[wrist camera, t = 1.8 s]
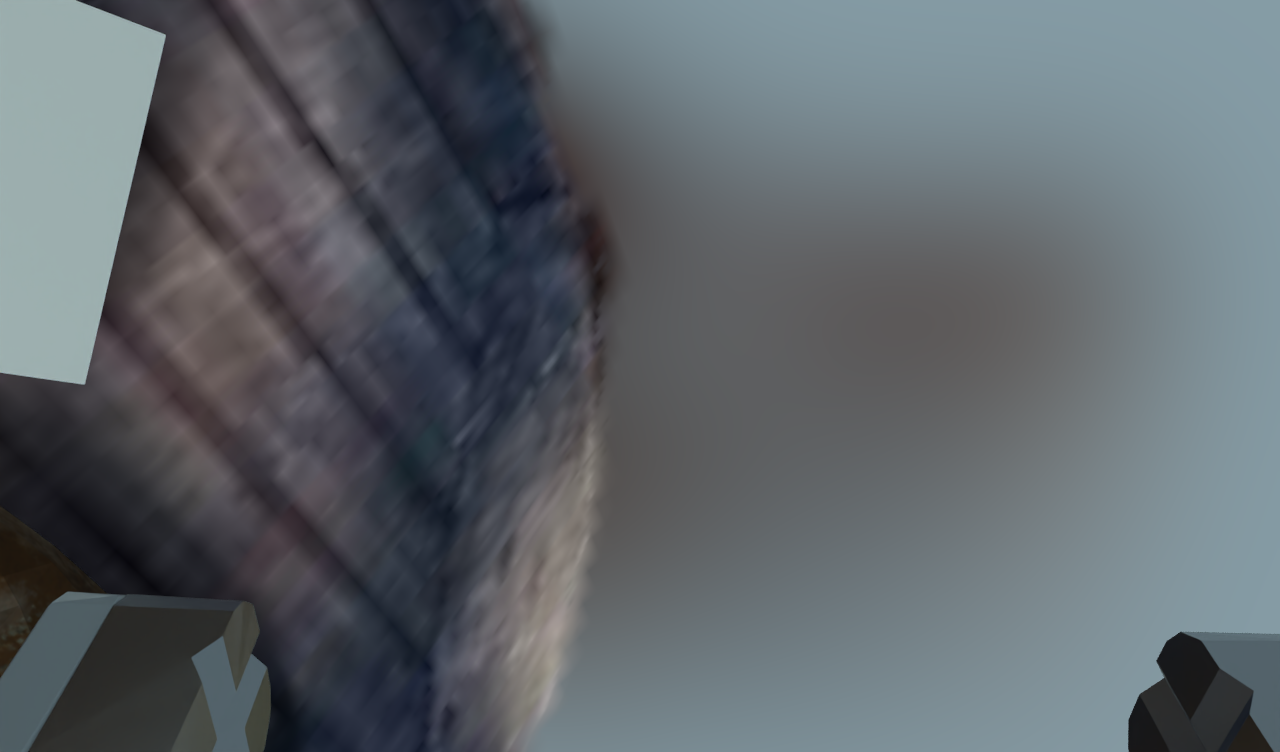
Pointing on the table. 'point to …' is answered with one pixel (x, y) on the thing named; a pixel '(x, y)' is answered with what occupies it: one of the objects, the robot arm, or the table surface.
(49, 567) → the bread
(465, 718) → the table surface
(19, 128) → the painted base block
